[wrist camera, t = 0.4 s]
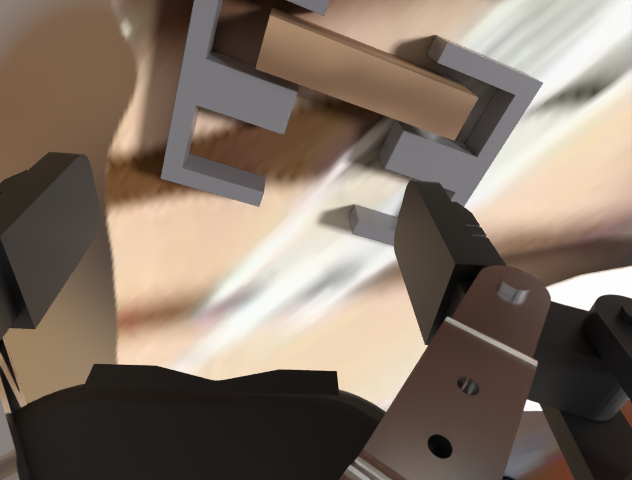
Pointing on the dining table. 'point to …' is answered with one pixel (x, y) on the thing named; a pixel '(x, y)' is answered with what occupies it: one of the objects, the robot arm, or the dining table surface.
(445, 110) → the walnut slat
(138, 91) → the dining table surface
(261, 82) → the frame
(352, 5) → the dining table surface
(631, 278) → the bowl
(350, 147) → the dining table surface
